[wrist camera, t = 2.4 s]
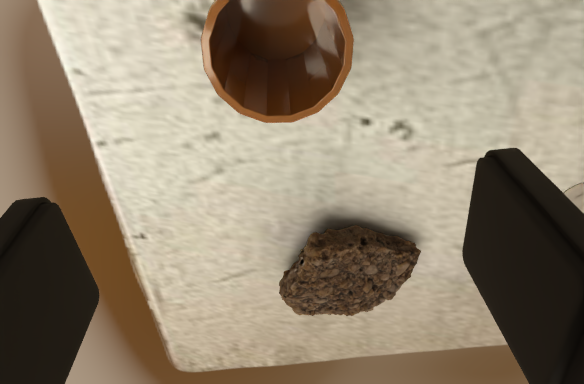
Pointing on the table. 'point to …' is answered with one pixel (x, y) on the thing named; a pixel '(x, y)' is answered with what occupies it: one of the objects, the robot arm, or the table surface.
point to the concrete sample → (347, 271)
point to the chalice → (576, 195)
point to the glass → (277, 55)
